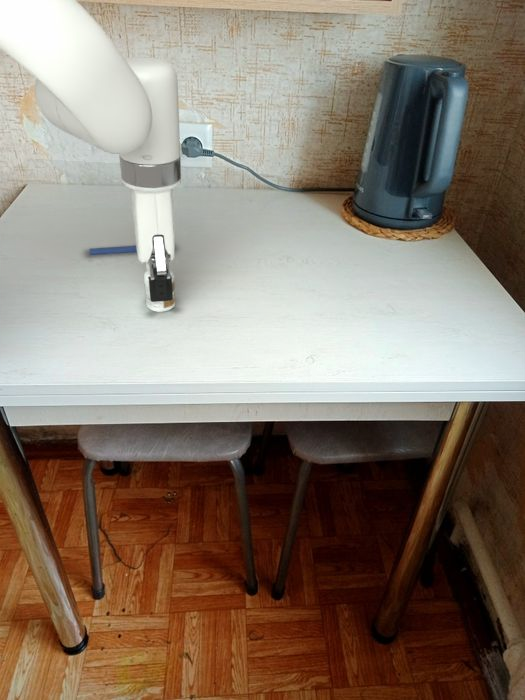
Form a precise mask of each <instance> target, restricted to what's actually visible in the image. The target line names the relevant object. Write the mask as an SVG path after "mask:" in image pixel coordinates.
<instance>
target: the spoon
mask: <svg viewBox="0 0 525 700" xmlns="http://www.w3.org/2000/svg"><path fill="white" fill-rule="evenodd" d="M121 253H122V254H123V253H137V248H136V245H126V246H125V245H124V246H112V247H111V246H109V247H95V248H89V255H90V256H91V255H106V254H121Z"/></svg>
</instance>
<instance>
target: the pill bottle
mask: <svg viewBox="0 0 525 700" xmlns="http://www.w3.org/2000/svg"><path fill="white" fill-rule="evenodd" d="M154 256H155V255H152V256H151V257H154ZM169 264H170V265H171V261H170V259H169ZM155 267H156V263H153V268H155ZM145 270H146V271H145V272H144V274H143V283H144V294H145V305H146V307H147V308H148V309H149V310H150V311H153V312H158V313H162V312H167V311H170V310H172V309H173V308H174V307H175V306H176V289H175V274H174V272H173V271H172V270H171V269H170V275H171V276H172V293H173V299H172V300H170V301H159V302H152V301H151V299H150V289H149V278H148V277H150V268H149V261H148V262H145Z"/></svg>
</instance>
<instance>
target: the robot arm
mask: <svg viewBox="0 0 525 700" xmlns="http://www.w3.org/2000/svg"><path fill="white" fill-rule="evenodd" d="M0 51H2V52H3V53H5V55H7V56H9V57H10V58H11V59H13V60H14V61H15V62H17V63H18V64H19V65H20V66H21V67H22V68H24V69H25V70H26V71H28V72H29V73H30V74H31V75H32V76H33V77H34V78H35V79H36V80H35V85H34V96H35V97H34V98H35V101H36V104H37V107H38V109H39V110H40V112H41V113H42V115H43V117H45V119H46V120H47V121H48V122H50V123H51V124H52V125H53V126H54V127H56V128H58V129H59V130H61V131H62V132H65V133H67V134H68V135H70V136H73V137H75V138H77V139H79V140H81V141H83V142H85V143H87V144H89V145H91V146H93V147H95V148H96V149H99V150H100V151H103V152H105V153H107V154H112V155H118V156H119V166H120V175H121V183H122V184H123V186H125V187H126V188H128V189H130V200H131V210H132V212H131V213H132V222H133V230H134V238H135V239H134V240H135V246H136V248H137V252H136V254H137V260H138V261H139V262H140V263H141V264H144V263H146V262H148V261H149V268H150V277H148V278H149V289H150V299H151V301H152V302H159V301H170V300H172V299H173V293H172V276H171V275H170V270H171V263H170V264H169V259H170V262H172V261H173V260H175V255H176V252H175V251H176V249H175V245H176V244H175V243H176V241H175V240H176V238H175V237H176V235H175V211H174V210H175V209H174V189H175V188H177V187H178V186H180V185H181V183H182V163H181V141H180V139H181V138H180V111H179V110H180V109H179V108H180V107H179V84H178V75H177V71H176V69H175V67H174V65H173V64H172V63H170V62H169V61H166V60H164V59H162V58H157V57H151V56H150V57H149V56H130V57H124V56H123V54H122V53H121V51H120V50H119V49H118V47H117V46H116V45H115V43H114V41H112V39H111V38H110V36H109V35H108V34H107V32H106V31H105V30H104V29H103V28H102V27H101V25H99V23H98V22H97V21H96V20H95V18H93V16H92V15H91V14H90V13H89V12H88V11H87V9H85V7H83V5H81V4H80V2H78V0H0ZM152 255H155V256H154V257H151V256H152ZM153 263H156V267H155V268H153Z"/></svg>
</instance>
